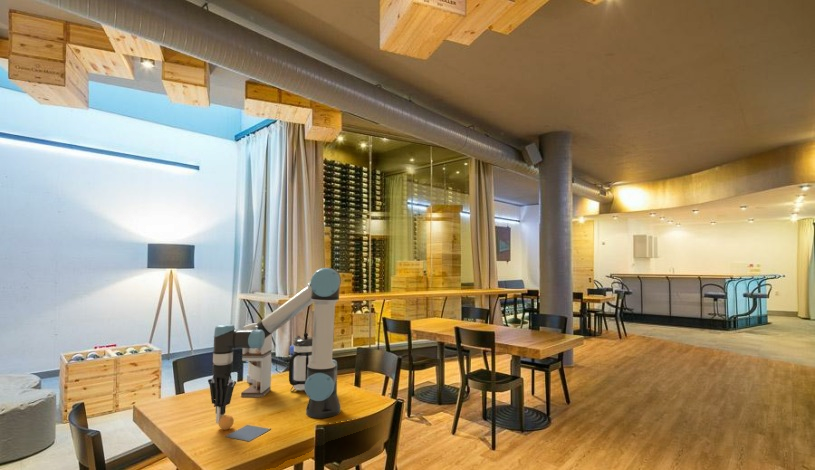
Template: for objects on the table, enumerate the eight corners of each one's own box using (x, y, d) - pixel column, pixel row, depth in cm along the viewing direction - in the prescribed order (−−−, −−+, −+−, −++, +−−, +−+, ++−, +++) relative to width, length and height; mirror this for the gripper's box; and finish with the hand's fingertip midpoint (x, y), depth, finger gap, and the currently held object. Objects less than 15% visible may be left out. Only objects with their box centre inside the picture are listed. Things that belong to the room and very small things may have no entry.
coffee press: (288, 387, 217) (289, 331, 219) (318, 385, 222) (318, 330, 224) (288, 397, 200) (289, 336, 203) (321, 394, 205) (321, 335, 208)
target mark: (271, 429, 161) (271, 429, 161) (249, 441, 150) (249, 441, 150) (247, 425, 165) (247, 424, 165) (224, 436, 154) (224, 436, 154)
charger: (241, 386, 221) (253, 378, 236) (258, 386, 221) (268, 378, 236) (242, 377, 222) (253, 370, 236) (258, 377, 221) (269, 370, 236)
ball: (230, 429, 164) (239, 421, 163) (220, 434, 159) (228, 426, 158) (223, 418, 165) (231, 409, 164) (213, 423, 160) (221, 414, 159)
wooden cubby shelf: (250, 389, 213) (252, 323, 216) (270, 390, 213) (272, 323, 216) (241, 396, 202) (243, 326, 205) (261, 397, 202) (263, 326, 204)
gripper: (241, 362, 166) (239, 421, 164) (218, 359, 171) (215, 416, 169) (227, 366, 159) (224, 428, 157) (203, 363, 164) (200, 423, 162)
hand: (219, 422), depth 163 cm, fingers closed
